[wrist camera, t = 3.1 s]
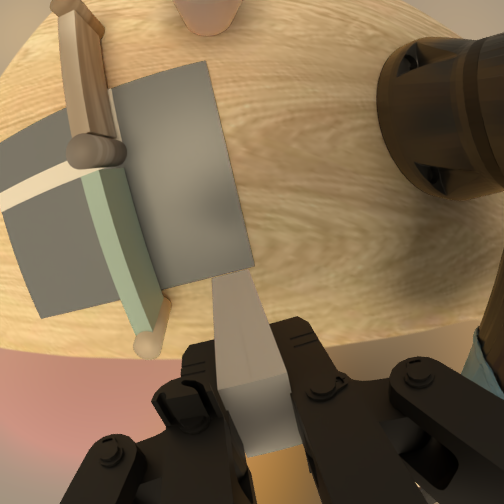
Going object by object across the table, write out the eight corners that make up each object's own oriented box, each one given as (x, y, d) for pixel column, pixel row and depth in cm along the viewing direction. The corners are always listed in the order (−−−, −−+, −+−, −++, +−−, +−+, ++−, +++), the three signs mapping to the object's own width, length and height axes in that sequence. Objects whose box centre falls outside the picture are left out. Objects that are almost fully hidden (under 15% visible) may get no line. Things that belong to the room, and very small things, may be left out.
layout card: (205, 61, 19) (205, 60, 19) (254, 264, 24) (255, 266, 24) (-10, 149, 18) (-12, 149, 18) (42, 317, 23) (40, 319, 23)
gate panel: (106, 173, 20) (72, 179, 14) (128, 166, 20) (99, 168, 15) (153, 317, 24) (139, 361, 18) (174, 313, 24) (165, 357, 18)
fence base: (104, 20, 17) (75, -16, 11) (130, 162, 21) (99, 162, 14) (82, 30, 17) (48, -2, 11) (106, 170, 21) (69, 174, 14)
